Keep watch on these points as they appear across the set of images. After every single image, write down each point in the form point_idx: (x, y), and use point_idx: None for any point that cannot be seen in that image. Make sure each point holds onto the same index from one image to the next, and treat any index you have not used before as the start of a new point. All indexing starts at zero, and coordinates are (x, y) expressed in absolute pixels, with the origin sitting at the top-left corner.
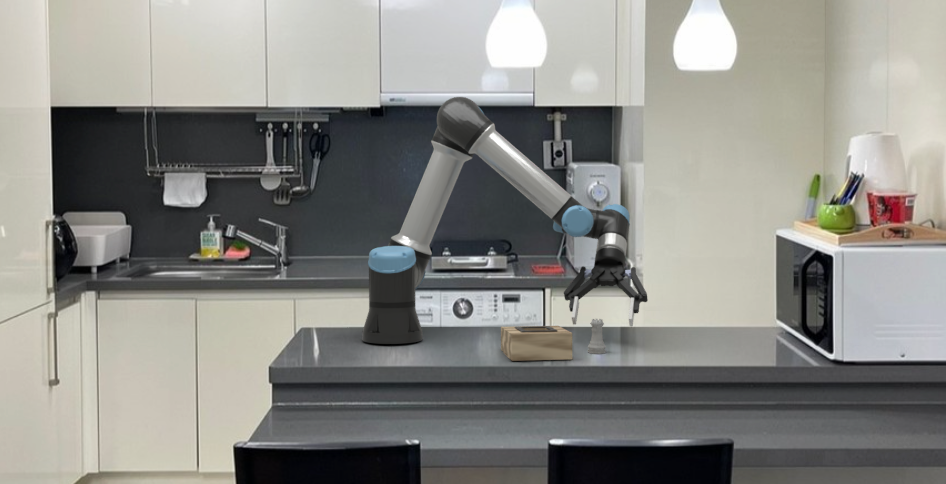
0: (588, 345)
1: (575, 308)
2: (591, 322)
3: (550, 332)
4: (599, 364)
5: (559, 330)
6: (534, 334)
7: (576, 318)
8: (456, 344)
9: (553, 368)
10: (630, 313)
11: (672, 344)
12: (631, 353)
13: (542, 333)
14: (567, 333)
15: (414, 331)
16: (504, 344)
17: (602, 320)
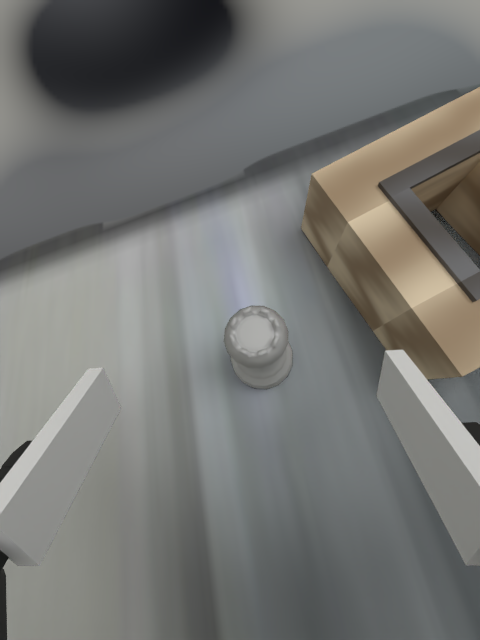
0: (288, 345)
1: (422, 398)
2: (279, 319)
3: (393, 158)
4: (222, 213)
5: (383, 219)
6: (432, 113)
7: (390, 411)
8: None
9: (316, 139)
10: (79, 394)
11: (18, 608)
12: (156, 378)
13: (410, 127)
14: (327, 166)
15: None
16: None
17: (229, 335)
